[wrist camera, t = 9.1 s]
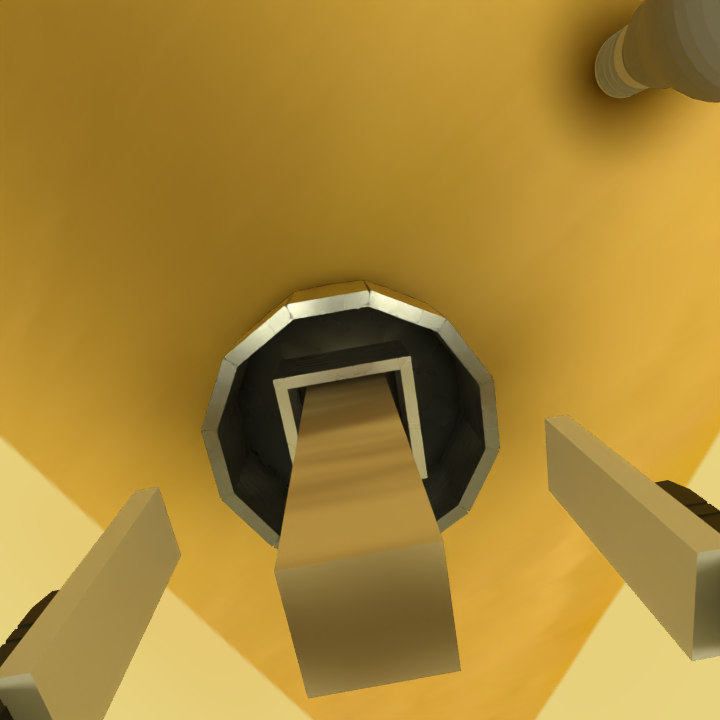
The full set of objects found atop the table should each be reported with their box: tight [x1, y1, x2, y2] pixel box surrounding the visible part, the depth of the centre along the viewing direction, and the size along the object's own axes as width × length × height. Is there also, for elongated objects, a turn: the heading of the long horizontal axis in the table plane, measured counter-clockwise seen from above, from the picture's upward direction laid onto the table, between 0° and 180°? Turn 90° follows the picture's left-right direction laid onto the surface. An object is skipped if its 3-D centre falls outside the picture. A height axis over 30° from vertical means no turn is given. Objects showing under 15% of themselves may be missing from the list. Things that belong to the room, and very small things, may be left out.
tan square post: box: [274, 372, 461, 698], centre depth 16 cm, size 4×4×13 cm
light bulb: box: [595, 0, 720, 102], centre depth 15 cm, size 6×6×10 cm
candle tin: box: [201, 280, 500, 549], centre depth 21 cm, size 12×12×4 cm
